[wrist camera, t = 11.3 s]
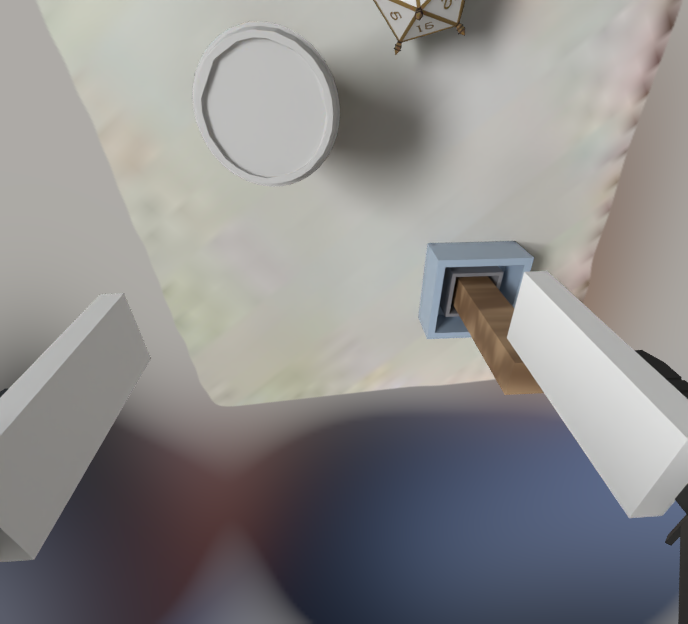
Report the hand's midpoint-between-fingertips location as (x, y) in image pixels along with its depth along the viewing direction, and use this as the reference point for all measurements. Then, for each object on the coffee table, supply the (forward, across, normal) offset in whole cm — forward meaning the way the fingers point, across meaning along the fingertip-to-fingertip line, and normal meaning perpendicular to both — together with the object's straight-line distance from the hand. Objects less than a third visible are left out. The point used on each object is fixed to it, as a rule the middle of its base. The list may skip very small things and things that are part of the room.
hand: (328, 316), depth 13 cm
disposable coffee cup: (+28, -4, +4) cm, 29 cm away
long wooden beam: (+27, +16, -15) cm, 35 cm away
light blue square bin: (+28, +16, -15) cm, 35 cm away
